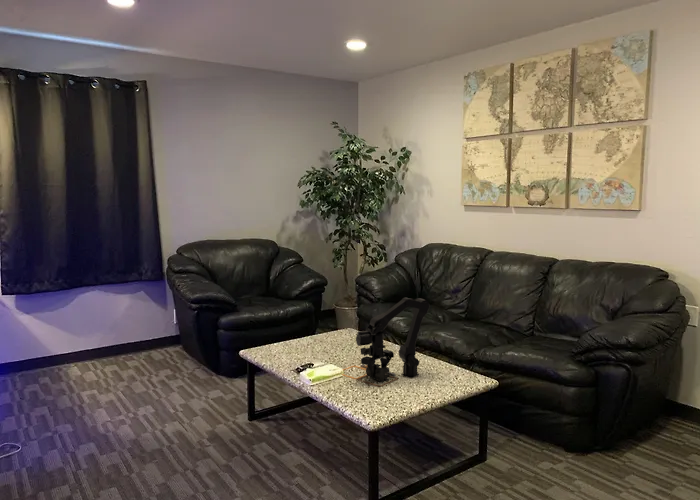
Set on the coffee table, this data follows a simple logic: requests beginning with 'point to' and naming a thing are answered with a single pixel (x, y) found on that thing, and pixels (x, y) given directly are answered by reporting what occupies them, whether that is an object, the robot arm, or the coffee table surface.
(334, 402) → the coffee table surface
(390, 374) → the metal rail
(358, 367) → the orange marked frame
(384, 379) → the end cap
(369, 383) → the walnut seat frame
